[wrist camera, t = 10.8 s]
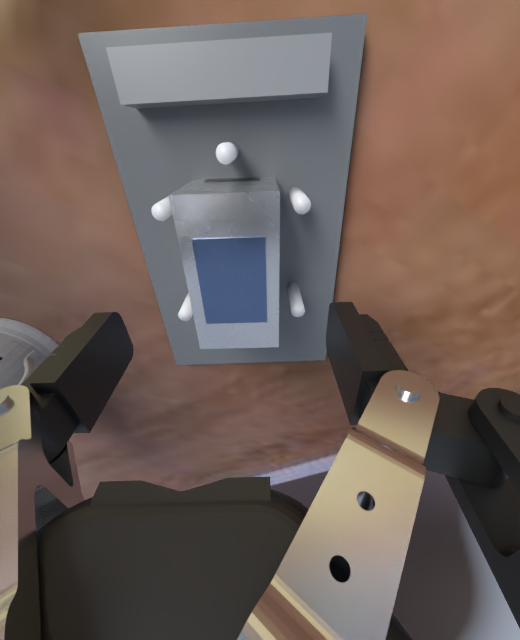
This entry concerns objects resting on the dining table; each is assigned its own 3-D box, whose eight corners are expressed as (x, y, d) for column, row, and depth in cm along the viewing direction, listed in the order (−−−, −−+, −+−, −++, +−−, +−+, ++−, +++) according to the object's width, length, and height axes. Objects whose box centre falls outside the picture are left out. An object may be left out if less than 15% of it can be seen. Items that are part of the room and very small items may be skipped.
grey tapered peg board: (90, 40, 14) (25, 2, 10) (359, 22, 14) (399, -24, 10) (179, 356, 26) (165, 394, 22) (323, 351, 26) (334, 389, 22)
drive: (193, 179, 17) (167, 194, 12) (274, 176, 17) (280, 190, 12) (212, 304, 22) (199, 350, 17) (274, 303, 22) (278, 348, 17)
